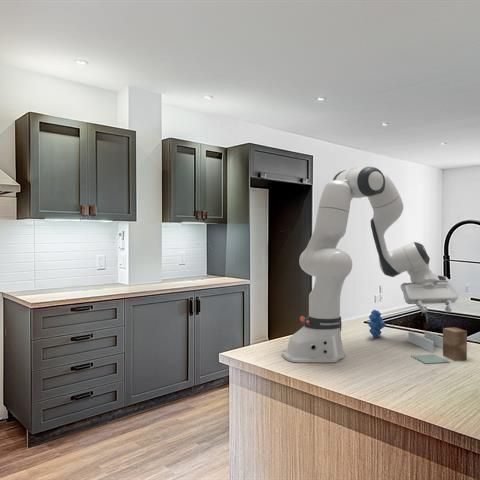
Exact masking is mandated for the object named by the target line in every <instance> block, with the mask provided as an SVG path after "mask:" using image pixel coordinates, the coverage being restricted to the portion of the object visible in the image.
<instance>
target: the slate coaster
mask: <svg viewBox="0 0 480 480" xmlns="http://www.w3.org/2000/svg"><path fill="white" fill-rule="evenodd" d="M410 357H411V358H412V357H413V359H414V358H415V359H414V360H416V359H417V360H416V361H418V362H421V363H422V364H424V365H434V364H437V365H438V364H448V363H449V364H450V363H451V361H450V360H447V359H445V358H444V357H441V356H439V355H436V354H433V353H432V354H431V353H430V354H416V355H410Z"/></svg>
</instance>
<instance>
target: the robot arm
mask: <svg viewBox="0 0 480 480" xmlns="http://www.w3.org/2000/svg"><path fill="white" fill-rule="evenodd" d="M354 198H355V199H362V198H368V200H369V203H370V206H371V208H372V211H373V216H372V218H371V219H370V228H371V231H372V237H373V238H372V239H373V241H374V244H375V245H374V246H375V247H376V248H375V249H376V251H377V254H378V264H379V267H380V268H379V269H380V270H381V272H382V273H383V274H384V275H385V276H387V277H391V278H394V277H396V276H398V275H400V274H402V273H405V272H406V273H407V274H408V275H409V278H410V282H403V283H402V284H401V285H400V289H401V291H402V293H403V294H402V295H403V298H404V301H405V303H406V304H408V305H415V306H416V307H417V308H419V309H420V310H421V312H422V313H424V314H425V313H427V312H428V311H429V310H428V306H424V305H427V304H429V305H430V304H431V305H433V304H444V305H445V308H444V310H445V312H446V313H451V312H452V307H451V306H452V304H454V303H456V302H457V300H458V298H459V295H458V292H457V291H456V289H455V287H454V286H453V285H452V283H450V282H449V278H448V277H447V276H444V275H439V274H436V273H433V271H432V270H431V269H430V265H429V264H430V259H431V258H430V256H429V255H428V253H427V251H426V248H425V246H424V245H423V244H422V243H419V242H417V241H414V242H410V243H408V244H404V245H403V246H401V247H398V248H396V249H393V250H391V251H389V250H388V248H387V244H386V241H385V233H386V232H387V230H388V229H390V228H391V226H393V224H395V223H396V222H397V221H398V220H399V218H400V217H401V216H402V214H403V212H404V203H403V199H402V197H401V195H400V193H399V191H398V188H397V187H396V186H395V183H394V182H393V180H391V178H390V177H389V175H387V173H385V172H383V171H381V170H380V169H379V168H377V167H374V166H365V167H353V168H349V169H345V170H341V171H339V172H338V173H336V174H335V175H334V177H333V178H332V180H330V181H328V182H327V183H326V184H325V185H324V188H323V190H322V193H321V197H320V200H319V202H318V203H319V204H318V209H317V213H316V214H317V215H316V218H315V220H316V221H315V224H314V228H313V232H312V234H311V237H310V239H309V241H308V243H307V246H306V247H305V249H304V250H303V251H302V252H301V254H300V255H299V259H298V262H299V266H300V268H301V270H302V271H304V272H305V273H306V274H307V275H309V276H312V277H315V279H314V280H315V281H314V284H313V287H312V290H311V291H310V293H309V294H308V315H307V316H306V317H305V316H303V315H301V316H300V317H299V320H300V322H302V323H303V326H302V327H301V328H300V329H298V330H297V331H296V332H295V333H293V334H292V335H291V336H290V337H289V340H288V344H287V348H284V349H282V351H281V356H282V357H283V358H284V359H285V360H286V361H289V362H292V363H338V361H339V360H341V359H344V358H345V352H344V348H343V341H342V336H341V335H342V328H343V327H342V317H341V295H342V289H343V287H344V282H345V280H346V278H347V277H348V276H349V275H350V274H351V271H352V269H353V260H352V258H351V256H350V255H349V253H347V252H345V251H343V250H342V249H340V248H339V249H338V248H337V246H338V244H339V242H340V240H341V239H342V238H343V237H344V236H345V234H346V231H347V226H348V221H349V214H350V208H351V202H352V200H353V199H354Z"/></svg>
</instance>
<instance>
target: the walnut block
mask: <svg viewBox="0 0 480 480" xmlns="http://www.w3.org/2000/svg"><path fill="white" fill-rule="evenodd" d="M442 337H443V348H442V356H443V357H444V358H447V359H449V360H452V361H454V362H455V361H467V360H468V331H467V330H464V329H462V328H459V327H443V328H442Z"/></svg>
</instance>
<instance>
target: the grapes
mask: <svg viewBox="0 0 480 480" xmlns="http://www.w3.org/2000/svg"><path fill="white" fill-rule="evenodd" d="M381 315H382V313H381V312H380V311H379V310H377V309H373V310H372V311H371V312H370V315H369V316H368V318H369V320H370V321H369V322H368V326H369V327H370V328H369V330H368V331H369V333H370V334H371V335H372V337H373V338H376V339H377V338H378V337H379V336H380V335H382V331H381V330H382V329H383V328H385V327H386V326H387V324H386V323H385V321H384V320H383V319H384V318H382V316H381Z"/></svg>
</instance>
